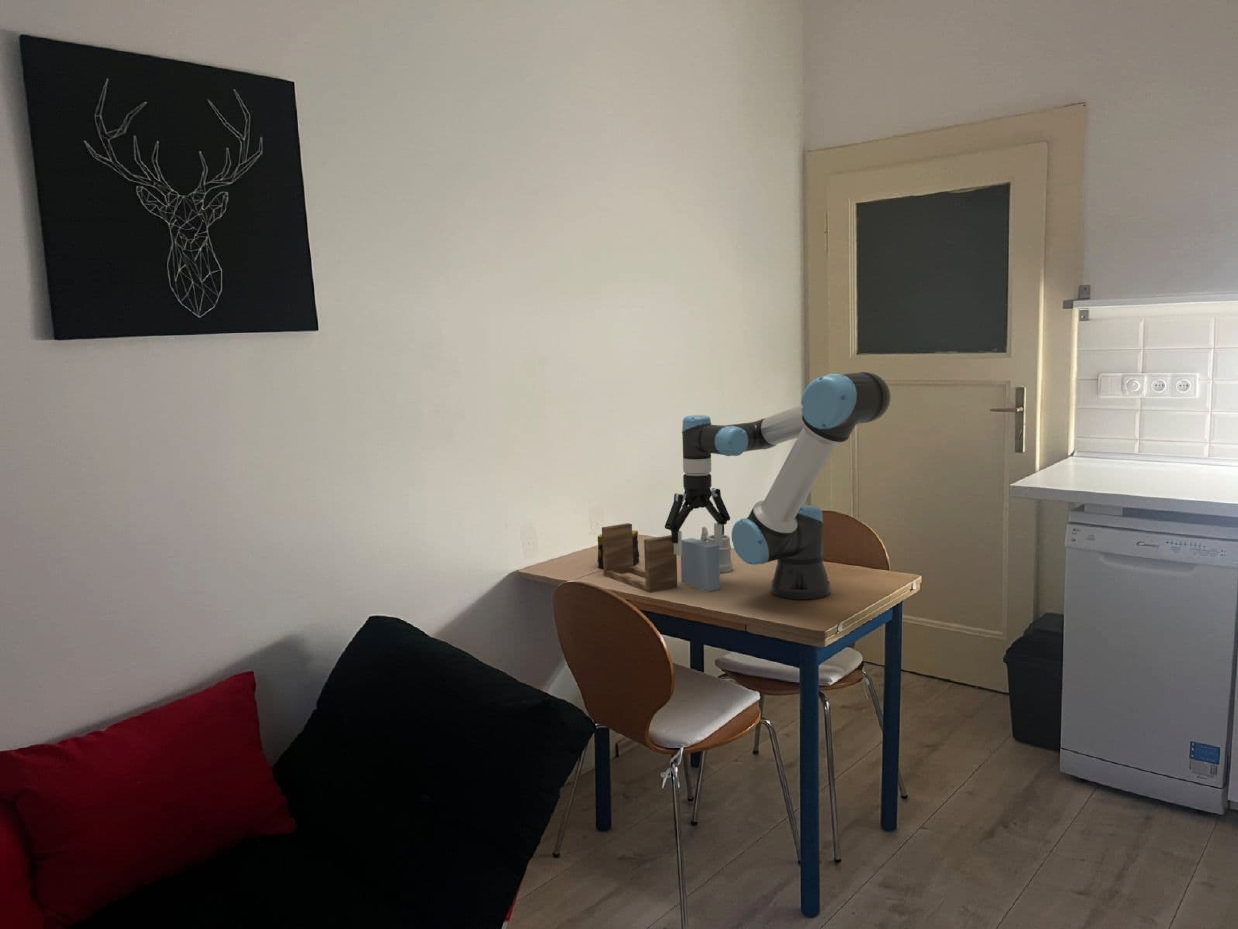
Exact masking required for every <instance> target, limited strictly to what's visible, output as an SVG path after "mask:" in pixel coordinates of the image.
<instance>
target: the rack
mask: <svg viewBox="0 0 1238 929" xmlns="http://www.w3.org/2000/svg"><path fill="white" fill-rule="evenodd" d="M632 531H633V523H621V524H615V525H609V526H608V525H607V526H602V527H601V534H602V545H603V569H602V570H603V576H604V577H605V576H606V577H607V578H611V579H613V580H616V581H619V582H621V583H624V584H626V585H630V586H631V587H634V588H638V589H640V590H643V591H645V592H649V593H653V592H659V591H663V590H669V589H672V588H678V587H679V586H678V565H677V564H678V563H677V562H678V561H677V558H678V557H677V556H678V555H676V554H674V543H672V540H671V534H668V535H662V536H658V537H652V538H651V537H650V538H646V539H643V546H644V548H643V549H644V552H643V555H644V569H643V568H640V567H637V566H634V565H633V539H632ZM627 573H631V574H633V575H636V576H639V577H642V578H645V582H644V581H641V580H639V579H636V578H633V577H630V576H628V575H626V574H627Z"/></svg>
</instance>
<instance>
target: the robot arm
mask: <svg viewBox="0 0 1238 929" xmlns="http://www.w3.org/2000/svg"><path fill="white" fill-rule="evenodd" d="M890 403H891V390H890V388H889V386H888V383H886V381H885V380H884V379H883V378H882V377H880V376H879V375H877V374H875V373H873V372H868V371H860V372H852V373H828V374H826V375H823V376H819V377H817V378H815V379H813V380H812V381H810V382H809V384H808V385H807V386H806V387H805V389H804V390H803V393H802V396H801V400H800V404H801V405H797V406H795V407H792V408H789V409H787V410H784V411H781V412H778V413H776V414H773V415H770V416H767V417H764V418H761V419H758V420H756V421H755V420H754V421H751V422H743V423H735V424H727V425H722V424H721V425H720V424H712V422H711V417H710V416H708V415H700V414H699V415H698V414H697V415H688V416H685V417H683V419H682V430H681V435H682V438H681V439H682V470H683V473H684V474H683V475H682V476H683V478H682V479H683V480H682V481H683V482H682V484H683V489H684V491H683V493H674V495H673V503H672V504H671V505H672V506H671V509H670V511H669V514H668V517H667V519H666V522H665V524H664V529H666V530H670V532H671V533H670V535H671V540H672V543H674V554H676V555H677V556H678V557H681V556H682V540H683V539H682V538H683V535H682V530H680V529H681V528H682V527H683V525H684V523H685V522H686V520H687V518H688V517H689V515H690V513H691V512H693V511H694V509H697V510H698V509H699V508H700V509H701V508H705V510H707V512H708V513H709V514H710V515H711V517H712V518H713V519H714V520H715V521H716V522H715V523H713V535H714V544H717V545H719V548H723V544H722V535H725V525H726V524H727V523H728V521H731V516H730V514H729V512H728V510H727V507H726V504H725V503H724V500H723V499H722V495H721V494H722V493H721V489H720V488H716V487H712V474H711V472H712V454H713V455H721V456H726V457H731V456H732V457H737V456H741V455H742V454H743V453H746V452H750V451H751V452H752V451H758V450H760V451H761V450H768V449H771V448H775V447H776V446H778V444H782V443H785V442H788V441H791V440H794V439H796V440H795V442H794V444H793V446H792V447H791V449H790V451H789V453H788V455H787V457H786V459H785V460H784V462H783V464H782V466H781V468H780V470H779V471H778V474H777V476H776V478H775V479H774V480H773V483H772V485H771V487H770V489H769V491H767V492H768V493H767V494H766V496H765V498H764V500H763V499H762V500H759V501H757V502H756V503H755V504H754V506H753V507H752V509H751V511H750V513H749V514H748V516H747V517H746V518H745V517H744V518H743V517H742V518H740V519H739V520H737V521H736V522H735V523H734V524H733V526H732V529H731V541H732V546H733V549H734V551H735V552H736V555H737V556H738V557H739V558H740V559H741V560H742V561H743V562H745V563H746V564H748V565H752V566H756V565H764V564H766V563H770V562H772V561H773V562H774V561H777V564H776V567H775V571H774V575H773V579H772V580H771V582H770V592H771V594H772V595H774V596H776V597H779V598H784V599H789V600H814V599H822V598H824V597H827V596H829V595H830V594H831V582H830V581H829V578H828V575H827V570H826V568H825V565H824V521H823V511H822V509H821V508H820V507H818V506H815V505H811V504H809V505H808V504H804V503H805V501H806V500H807V498H808V496H809V494H810V493H811V490H812V489H813V488H814V485H815V484H816V482H817V480H818V479H819V477H820V476H821V473H822V472H823V469H824V468H825V466H826V465H827V463H828V461H829V459H830V457H831V455H832V454H833V452H834V451H835V448H836V447H837V445H838V444H843V443H846V442H847V441H848V439H849V438H850V436H851V435H852V433H853V431H854V430H855V428H856V426H857V425H860V424H867V423H871V422H874V421H876V420H878V419H880V418H881V417H883V416H884V414H886V412H887V410H888V409H889V407H890ZM711 487H712V488H711ZM711 497H712V500H713V502H714V503H713V502H712V500H711ZM714 504H715V506H714Z"/></svg>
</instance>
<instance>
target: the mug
mask: <svg viewBox="0 0 1238 929" xmlns="http://www.w3.org/2000/svg"><path fill="white" fill-rule="evenodd" d="M700 536H701V537H700V539H699V540H702V541H706V542H709V543H713V544H714V534H711V535H709V532H708V528H707V527H706V526H702V527H701V535H700ZM722 544H723V548H719V569H720V574H725V573H729V572H731V571H732V567H733V564H734V563H733V561H732V556H731V555H732V554H731V553H732V552H731V550H732V546H731V540H730V536H729V535H727V534H724V535H722Z"/></svg>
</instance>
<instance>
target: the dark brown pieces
mask: <svg viewBox="0 0 1238 929" xmlns="http://www.w3.org/2000/svg"><path fill="white" fill-rule="evenodd" d="M638 536H639V531H638V530H632V539H633V565H634V567H636V565H637V564H639V563H640V552H639V540H638V539H639V538H638ZM597 564H598V565H597V568H598V569H600V570H601V569H602V570H604V569H603V545H602V533H600V534H599V535H597Z"/></svg>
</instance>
